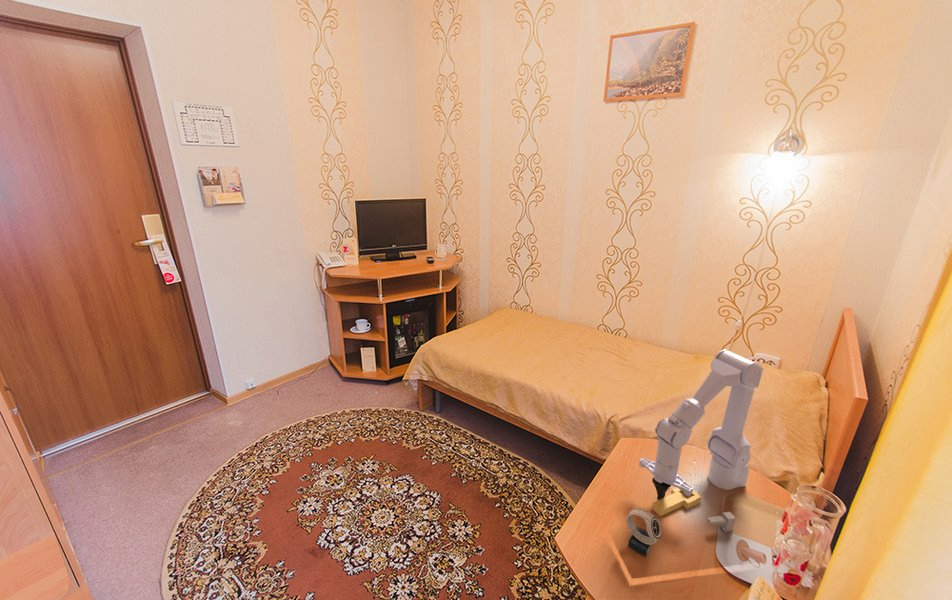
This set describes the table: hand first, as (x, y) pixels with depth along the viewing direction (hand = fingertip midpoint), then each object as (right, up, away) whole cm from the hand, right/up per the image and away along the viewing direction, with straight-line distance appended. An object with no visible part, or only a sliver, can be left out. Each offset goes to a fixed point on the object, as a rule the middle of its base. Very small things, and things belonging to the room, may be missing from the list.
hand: (660, 499), depth 110 cm
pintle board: (+5, -3, -2) cm, 6 cm away
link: (+4, -1, 0) cm, 4 cm away
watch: (-11, -7, -12) cm, 17 cm away
